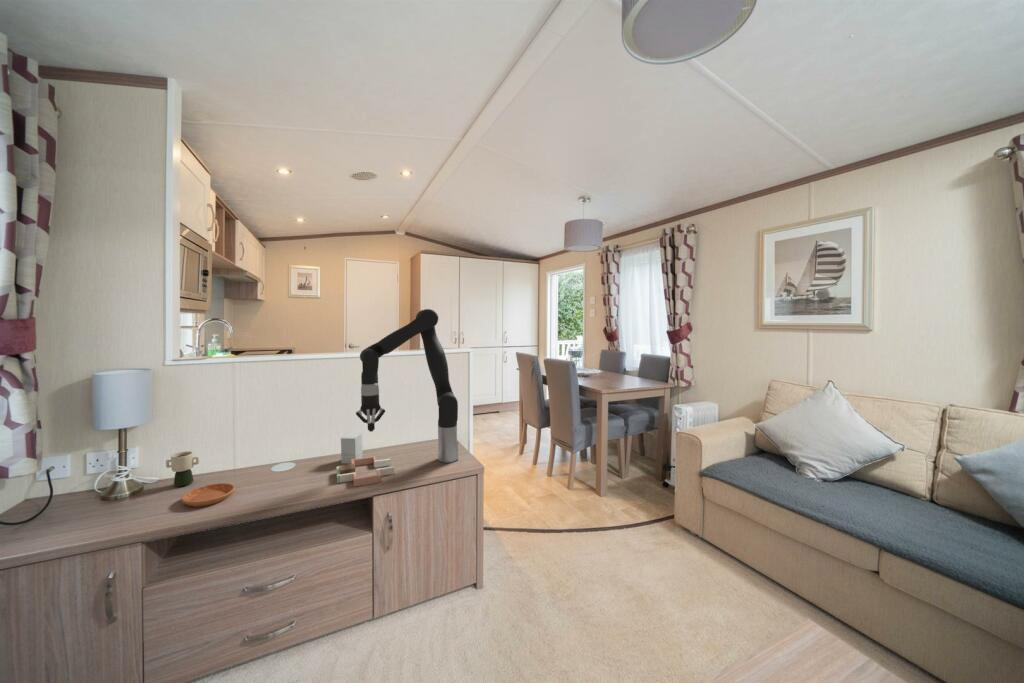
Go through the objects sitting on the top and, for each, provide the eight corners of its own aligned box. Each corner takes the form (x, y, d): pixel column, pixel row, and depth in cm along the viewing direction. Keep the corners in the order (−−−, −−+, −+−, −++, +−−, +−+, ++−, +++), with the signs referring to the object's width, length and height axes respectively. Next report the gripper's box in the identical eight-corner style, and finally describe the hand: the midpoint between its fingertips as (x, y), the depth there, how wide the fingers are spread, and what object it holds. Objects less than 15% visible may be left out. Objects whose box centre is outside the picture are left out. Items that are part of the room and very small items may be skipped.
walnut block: (354, 473, 173) (354, 463, 173) (355, 478, 168) (355, 468, 168) (340, 475, 171) (339, 465, 170) (340, 480, 165) (340, 470, 165)
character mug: (202, 478, 165) (201, 449, 164) (197, 485, 159) (195, 455, 158) (170, 483, 161) (169, 453, 160) (163, 490, 154) (161, 459, 154)
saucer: (242, 488, 157) (241, 481, 157) (221, 507, 142) (221, 499, 142) (197, 491, 154) (197, 484, 154) (171, 511, 138) (171, 503, 138)
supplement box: (363, 458, 190) (362, 433, 189) (355, 464, 183) (355, 438, 182) (348, 457, 191) (348, 433, 190) (340, 463, 184) (340, 437, 183)
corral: (389, 459, 189) (388, 453, 188) (396, 479, 167) (396, 472, 167) (336, 467, 178) (336, 461, 178) (337, 489, 157) (337, 482, 156)
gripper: (384, 390, 178) (385, 427, 179) (353, 393, 172) (354, 430, 173) (386, 393, 171) (387, 431, 172) (354, 396, 165) (355, 435, 166)
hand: (371, 431), depth 173 cm, fingers closed
